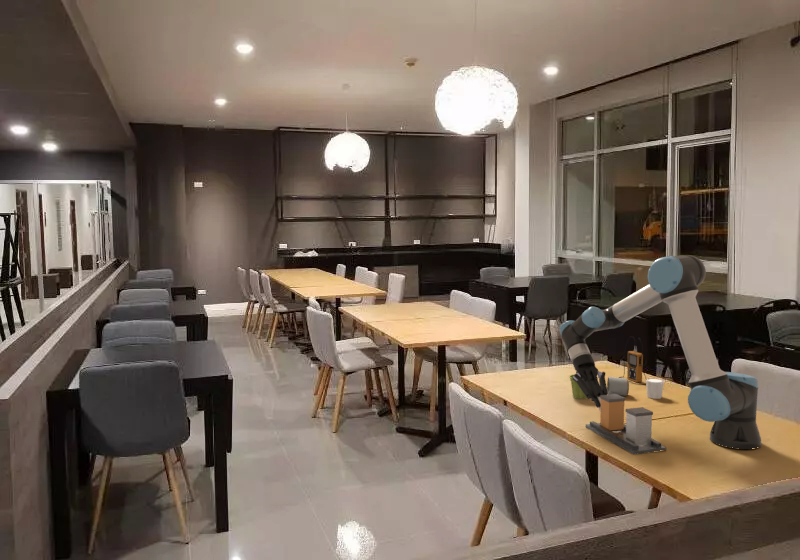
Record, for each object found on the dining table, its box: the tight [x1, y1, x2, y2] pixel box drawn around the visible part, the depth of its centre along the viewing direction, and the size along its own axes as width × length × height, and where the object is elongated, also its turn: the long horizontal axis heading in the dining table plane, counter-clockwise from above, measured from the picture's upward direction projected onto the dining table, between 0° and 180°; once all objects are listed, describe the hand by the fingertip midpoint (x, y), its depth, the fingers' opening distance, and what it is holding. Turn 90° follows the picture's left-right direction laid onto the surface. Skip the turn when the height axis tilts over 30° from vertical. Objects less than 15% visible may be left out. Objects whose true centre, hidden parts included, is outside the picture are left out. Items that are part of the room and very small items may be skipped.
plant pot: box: [568, 373, 587, 400], centre depth 272 cm, size 9×9×9 cm
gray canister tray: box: [585, 406, 667, 455], centre depth 222 cm, size 28×12×12 cm, turn 16°
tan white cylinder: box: [645, 378, 665, 400], centre depth 272 cm, size 7×7×7 cm
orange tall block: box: [599, 394, 626, 430], centre depth 228 cm, size 5×6×11 cm
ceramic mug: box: [606, 376, 630, 397], centre depth 276 cm, size 11×8×8 cm
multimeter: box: [618, 336, 648, 386], centre depth 297 cm, size 15×10×20 cm
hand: (605, 414), depth 232 cm, fingers closed
